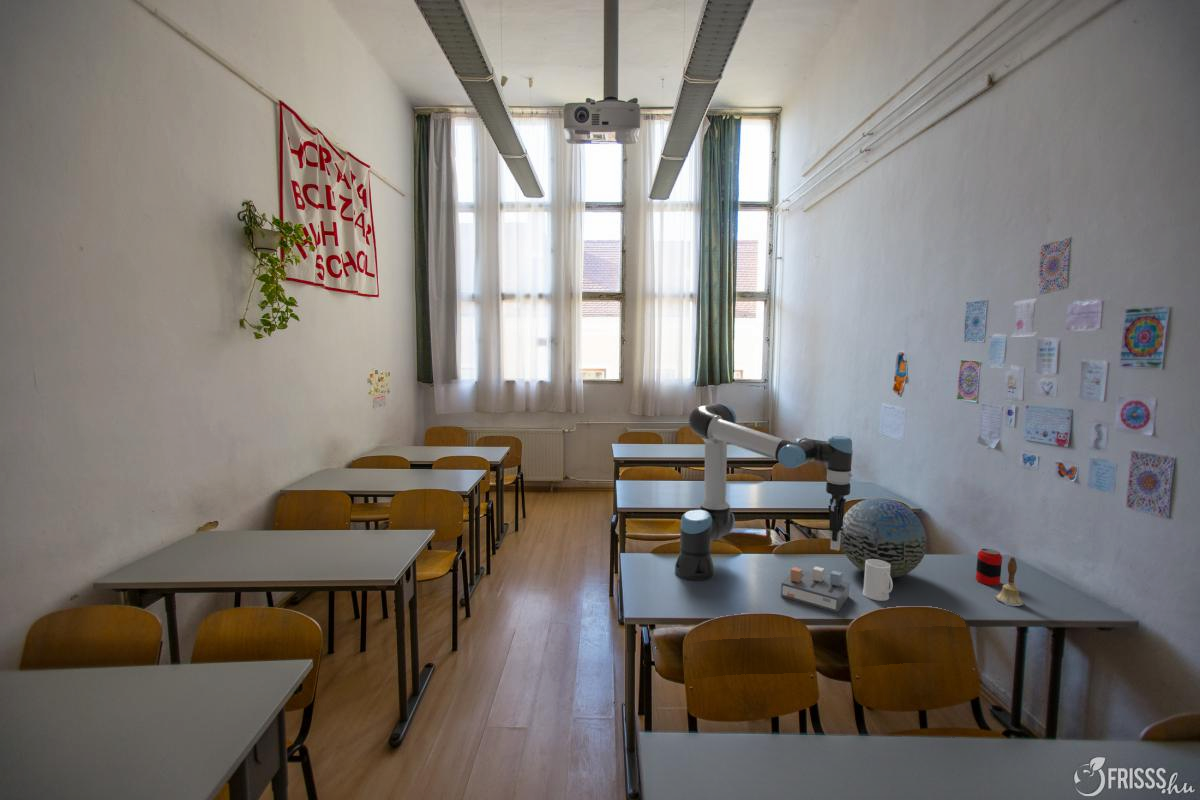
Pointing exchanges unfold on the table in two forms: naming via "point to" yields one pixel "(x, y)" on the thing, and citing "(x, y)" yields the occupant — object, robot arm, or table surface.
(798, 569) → the slider terracotta
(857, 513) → the decorative globe
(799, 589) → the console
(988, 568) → the soda can
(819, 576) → the slider ivory
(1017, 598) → the hand bell
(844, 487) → the robot arm
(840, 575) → the block
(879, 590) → the mug
